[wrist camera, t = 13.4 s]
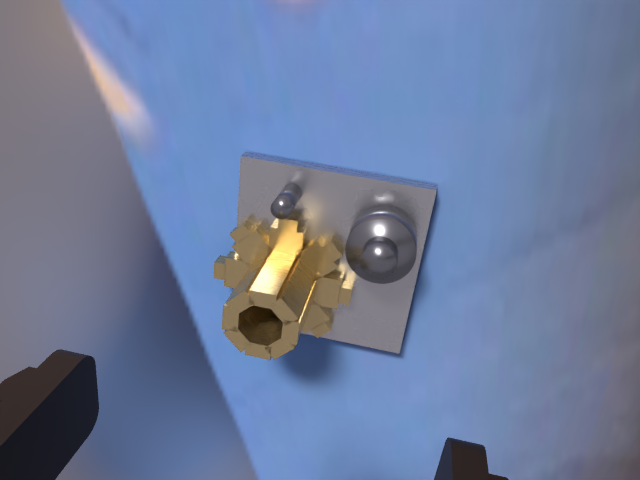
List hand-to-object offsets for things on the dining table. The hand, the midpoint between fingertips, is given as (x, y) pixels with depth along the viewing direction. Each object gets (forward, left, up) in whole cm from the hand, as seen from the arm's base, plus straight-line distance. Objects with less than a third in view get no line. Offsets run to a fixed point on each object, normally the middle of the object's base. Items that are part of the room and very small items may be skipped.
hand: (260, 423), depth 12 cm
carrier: (+2, +10, -28) cm, 30 cm away
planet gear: (+5, +12, -27) cm, 30 cm away
